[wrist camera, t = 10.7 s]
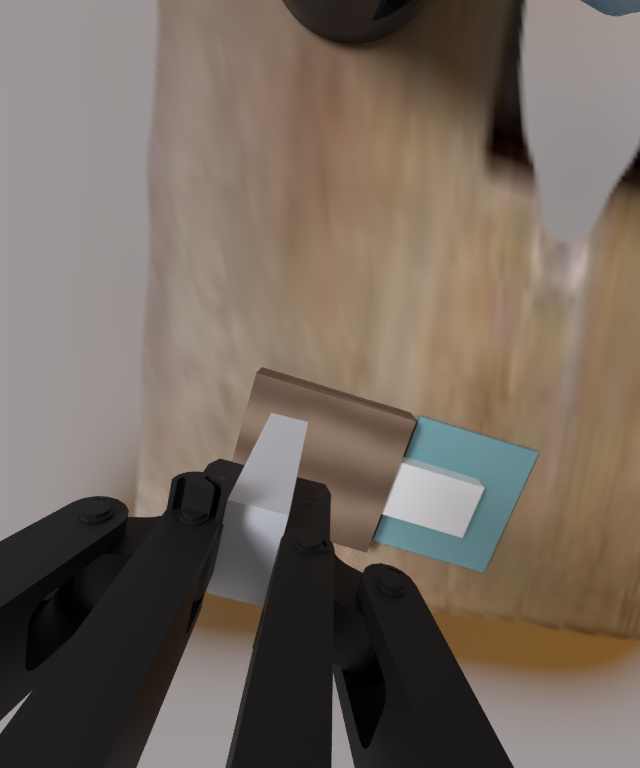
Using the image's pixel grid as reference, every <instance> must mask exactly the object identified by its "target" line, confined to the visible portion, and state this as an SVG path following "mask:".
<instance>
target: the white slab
mask: <svg viewBox="0 0 640 768" xmlns="http://www.w3.org/2000/svg"><path fill="white" fill-rule="evenodd" d="M483 490H484V486H483V485H482V484H481V483H480V481H479V480H478V479H476V478H473V477H470V476H467V475H463V474H460V473H457V472H453V471H450V470H447V469H443V468H440V467H437V466H434V465H430V464H427V463H424V462H420V461H417V460H414V459H410V458H407V457H404V456H403V457H402V460H401V463H400V465H399V468H398V471H397V473H396V476H395V479H394V481H393V484H392V487H391V489H390V492H389V495H388V497H387V500H386V502H385V505H384V508H383V510H382V513H381V514H383V515H386V516H390V517H393V518H396V519H400V520H403V521H406V522H410V523H413V524H417V525H420V526H423V527H427V528H430V529H434V530H437V531H440V532H444V533H447V534H450V535H454V536H457V537H461V538H463V536H464V534H465V531H466V529H467V527H468V524H469V522H470V520H471V518H472V515H473V513H474V511H475V508H476V506H477V504H478V502H479V499H480V497H481V495H482V492H483Z"/></svg>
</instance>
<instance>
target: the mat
mask: <svg viewBox="0 0 640 768" xmlns="http://www.w3.org/2000/svg"><path fill="white" fill-rule="evenodd" d="M538 454H539V453H538V452H537V451H535V450H531V449H528V448H525V447H521V446H518V445H515V444H512V443H508V442H505V441H502V440H499V439H495V438H492V437H489V436H485V435H482V434H479V433H476V432H472V431H469V430H466V429H462V428H459V427H456V426H453V425H449V424H446V423H443V422H439V421H436V420H433V419H430V418H426V417H423V416H420V415H419V418H418V420H417V423H416V425H415V428H414V431H413V433H412V436H411V439H410V441H409V444H408V447H407V449H406V452H405V455H404V457H407V458H410V459H414V460H417V461H420V462H424V463H427V464H430V465H434V466H437V467H440V468H443V469H447V470H450V471H453V472H457V473H460V474H463V475H467V476H470V477H473V478H476V479H478V480H479V481H480V483H481V484H482V485H483V486H484V490H483V492H482V495H481V497H480V499H479V502H478V504H477V506H476V508H475V511H474V513H473V515H472V518H471V520H470V522H469V524H468V527H467V529H466V531H465V534H464V536H463V538H461V537H457V536H454V535H450V534H447V533H444V532H440V531H437V530H434V529H430V528H427V527H423V526H420V525H417V524H413V523H410V522H406V521H403V520H400V519H396V518H393V517H390V516H386V515H383V514H382V515H381V518H380V521H379V523H378V526H377V528H376V531H375V534H374V536H373V541H376V542H379V543H383V544H386V545H390V546H393V547H396V548H400V549H403V550H407V551H410V552H414V553H417V554H421V555H424V556H427V557H431V558H434V559H438V560H441V561H445V562H448V563H452V564H455V565H458V566H462V567H465V568H469V569H472V570H476V571H479V572H483V573H484V571H485V569H486V567H487V565H488V563H489V561H490V558H491V556H492V554H493V552H494V550H495V547H496V545H497V543H498V541H499V539H500V537H501V534H502V532H503V530H504V528H505V526H506V523H507V521H508V519H509V517H510V515H511V513H512V510H513V508H514V506H515V504H516V502H517V499H518V497H519V495H520V493H521V491H522V489H523V486H524V484H525V482H526V480H527V478H528V475H529V473H530V471H531V469H532V467H533V465H534V462H535V460H536V458H537V456H538Z"/></svg>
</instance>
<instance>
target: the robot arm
mask: <svg viewBox="0 0 640 768" xmlns="http://www.w3.org/2000/svg"><path fill="white" fill-rule="evenodd" d="M282 1H283V2H284V4H285V5H286V7H287V8H288V10H289V11H290V12H291V13H292V14H293V16H294V17H295V18H296V19H297V20H298V21H299V22H300V23H302V24H303V25H304V26H305V27H306V28H308V29H309V30H311V31H312V32H314V33H316V34H317V35H320V36H322V37H324V38H326V39H329V40H332V41H336V42H341V43H352V44H356V43H366V42H371V41H375V40H378V39H381V38H383V37H386V36H388V35H390V34H392V33H394V32H395V31H397V30H399V29H400V28H401V27H403V26H404V25H405V24H407V23H408V22H409V21H410V20H411V19H412V18H413V17H414V16H415V15H416V14H417V13H418V12H419V11H420V10H421V8H422V7H423V6H424V4H425V3H426V2H427V0H282ZM581 1H583V2H584V3H586V4H588V5H590V6H591V7H593V8H595V9H596V10H598V11H600V12H602V13H604V14H606V15H611V16H622V15H625V14H629V13H635V12H639V11H640V0H581ZM307 425H308V422H306V421H302V420H298V419H294V418H290V417H286V416H282V415H278V414H274V413H271V414H270V416H269V418H268V420H267V422H266V424H265V426H264V428H263V430H262V432H261V434H260V436H259V438H258V440H257V442H256V444H255V446H254V448H253V450H252V452H251V454H250V456H249V458H248V460H247V462H246V464H245V465H243V464H239V463H235V462H231V461H227V460H223V459H218V460H216V461H214V462H212V463H210V464H208V466H207V467H206V469H205V470H204V472H186V473H182V474H179V475H177V476H176V477H174V478H173V479H172V483H171V488H170V494H169V499H168V505H167V510H166V511H165V512H164V514H163V515H162V516H158V517H145V518H144V517H128V512H129V511H128V508H127V507H126V505H125V504H124V503H122V502H121V501H119V500H118V499H114V498H110V497H104V496H103V497H101V496H95V497H88V498H83V499H80V500H77V501H75V502H72V503H70V504H69V505H67V506H65V507H63V508H61V509H60V510H57V511H56V512H54V513H52V514H50V515H48V516H46V517H45V518H43V519H41V520H39V521H37V522H35V523H33V524H32V525H30V526H28V527H26V528H24V529H22V530H20V531H19V532H17V533H15V534H13V535H11V536H9V537H7V538H6V539H4V540H2V541H0V721H1V720H2V719H3V718H4V717H5V716H6V715H7V714H8V713H9V712H10V711H11V710H12V709H13V708H14V707H15V706H16V705H17V704H18V703H19V702H20V701H21V700H23V699H24V698H25V697H26V696H27V695H28V694H29V693H30V692H31V691H32V692H31V693H30V695H29V696H28V697H27V699H26V700H25V702H24V703H23V704H22V705H21V707H20V708H19V709H18V711H17V712H16V713H15V715H14V716H13V718H12V719H11V720H10V722H9V723H8V724H7V726H6V727H5V728H4V730H3V731H2V732H1V734H0V768H136V767H137V764H138V762H139V760H140V756H141V755H142V752H143V750H144V747H145V745H146V743H147V740H148V737H149V735H150V733H151V730H152V728H153V725H154V723H155V720H156V718H157V716H158V713H159V711H160V708H161V706H162V704H163V701H164V699H165V696H166V694H167V691H168V689H169V686H170V684H171V682H172V679H173V677H174V674H175V672H176V669H177V667H178V665H179V662H180V660H181V657H182V655H183V652H184V650H185V647H186V645H187V643H188V640H189V638H190V635H191V633H192V630H193V628H194V625H195V623H196V621H197V618H198V616H199V613H200V611H201V608H202V603H203V598H204V594H205V591H206V589H207V586H208V584H209V586H208V591H207V593H210V594H214V595H218V596H222V597H226V598H231V599H234V600H238V601H243V602H247V603H250V604H255V605H259V606H263V611H262V615H261V618H260V622H259V625H258V629H257V633H256V637H255V640H254V644H253V652H252V656H251V660H250V665H249V669H248V673H247V677H246V682H245V686H244V690H243V695H242V699H241V703H240V707H239V712H238V716H237V720H236V725H235V729H234V733H233V738H232V742H231V746H230V751H229V755H228V759H227V763H226V768H331V752H332V689H333V688H332V687H333V685H332V684H333V683H332V682H333V674H334V678H335V682H336V687H337V691H338V696H339V700H340V705H341V709H342V713H343V718H344V722H345V727H346V731H347V735H348V740H349V744H350V749H351V753H352V758H353V762H354V766H355V768H514V767H513V765H512V763H511V761H510V760H509V758H508V756H507V754H506V752H505V750H504V749H503V747H502V745H501V743H500V741H499V739H498V738H497V735H496V733H495V732H494V730H493V728H492V726H491V724H490V722H489V720H488V719H487V717H486V715H485V713H484V711H483V709H482V707H481V705H480V704H479V702H478V700H477V698H476V696H475V694H474V692H473V691H472V689H471V687H470V685H469V683H468V681H467V679H466V678H465V676H464V674H463V672H462V670H461V668H460V667H459V665H458V663H457V661H456V659H455V657H454V655H453V653H452V651H451V650H450V648H449V646H448V644H447V642H446V640H445V638H444V637H443V635H442V633H441V631H440V629H439V627H438V625H437V624H436V622H435V620H434V618H433V616H432V614H431V612H430V610H429V608H428V607H427V605H426V603H425V601H424V599H423V597H422V595H421V594H420V592H419V590H418V588H417V586H416V585H415V583H414V582H413V581H412V579H411V578H410V577H409V576H407V575H406V574H405V573H404V572H402V571H401V570H399V569H397V568H395V567H393V566H390V565H386V564H381V563H380V564H371V565H369V566H368V567H366V568H365V570H364V572H363V573H362V572H360V571H358V570H356V569H354V568H352V567H350V566H348V565H347V564H345V563H344V562H342V561H341V560H340V559H339V558H338V557H337V556H336V555H335V550H334V546H333V543H332V542H331V541H330V519H331V513H330V512H331V493H330V491H329V489H328V488H327V486H326V484H323V483H319V482H315V481H311V480H307V479H303V478H299V477H297V473H298V469H299V464H300V459H301V454H302V449H303V444H304V440H305V435H306V430H307Z"/></svg>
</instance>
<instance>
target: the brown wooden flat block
mask: <svg viewBox="0 0 640 768" xmlns="http://www.w3.org/2000/svg"><path fill="white" fill-rule="evenodd" d="M271 413H274V414H278V415H282V416H286V417H290V418H294V419H298V420H302V421H306V422H308V425H307V430H306V435H305V440H304V444H303V449H302V454H301V459H300V464H299V469H298V473H297V477H299V478H303V479H307V480H311V481H315V482H319V483H323V484H326V486H327V488H328V489H329V491H330V493H331V512H330V513H331V519H330V541H331V542H333V543H336V544H339V545H343V546H346V547H350V548H353V549H357V550H360V551H364V552H367V550H368V547H369V545H370V542H371V539H372V537H373V534H374V532H375V529H376V526H377V524H378V521H379V518H380V516H381V513H382V510H383V508H384V505H385V502H386V500H387V497H388V495H389V492H390V489H391V487H392V484H393V481H394V479H395V476H396V473H397V471H398V468H399V465H400V463H401V460H402V457H403V455H404V452H405V450H406V447H407V444H408V442H409V439H410V436H411V434H412V431H413V428H414V426H415V423H416V421H415V419H414V418H413V416H412V415H411V413H410V412H407V411H403V410H400V409H397V408H394V407H390V406H387V405H384V404H380V403H377V402H374V401H371V400H367V399H364V398H361V397H358V396H354V395H351V394H348V393H344V392H341V391H338V390H335V389H331V388H328V387H325V386H321V385H318V384H315V383H312V382H308V381H305V380H302V379H299V378H295V377H292V376H289V375H285V374H282V373H279V372H276V371H272V370H269V369H266V368H261V369H260V370H259V371H258V372H257V373H256V377H255V380H254V384H253V387H252V391H251V395H250V398H249V402H248V406H247V409H246V413H245V416H244V420H243V424H242V427H241V431H240V434H239V438H238V442H237V445H236V449H235V453H234V456H233V460H232V462H235V463H239V464H243V465H245V464H246V462H247V460H248V458H249V456H250V454H251V452H252V450H253V448H254V446H255V444H256V442H257V440H258V438H259V436H260V434H261V432H262V430H263V428H264V426H265V424H266V422H267V420H268V418H269V416H270V414H271Z"/></svg>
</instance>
